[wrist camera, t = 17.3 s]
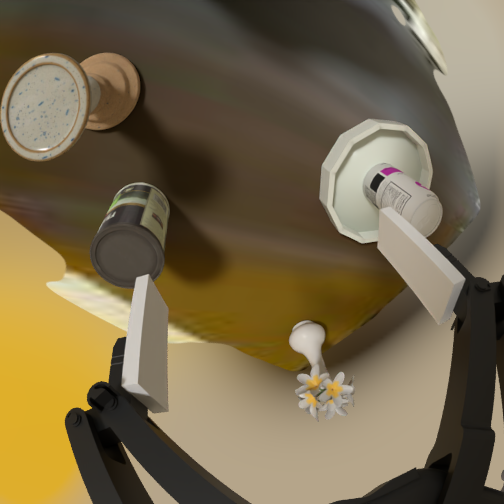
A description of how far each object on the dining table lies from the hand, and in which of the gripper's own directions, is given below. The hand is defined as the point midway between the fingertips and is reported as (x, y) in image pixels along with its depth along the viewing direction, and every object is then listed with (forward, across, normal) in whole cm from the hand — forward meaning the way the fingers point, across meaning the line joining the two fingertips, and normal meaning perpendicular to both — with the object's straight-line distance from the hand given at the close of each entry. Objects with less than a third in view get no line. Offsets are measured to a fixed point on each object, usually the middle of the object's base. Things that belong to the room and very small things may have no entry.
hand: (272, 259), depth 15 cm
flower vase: (+33, +7, -50) cm, 61 cm away
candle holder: (+33, -15, +13) cm, 39 cm away
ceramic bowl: (+33, +27, -15) cm, 45 cm away
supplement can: (+32, +27, -15) cm, 44 cm away
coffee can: (+33, -16, -8) cm, 38 cm away
